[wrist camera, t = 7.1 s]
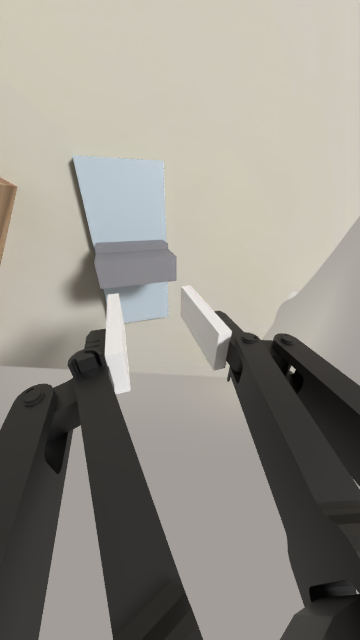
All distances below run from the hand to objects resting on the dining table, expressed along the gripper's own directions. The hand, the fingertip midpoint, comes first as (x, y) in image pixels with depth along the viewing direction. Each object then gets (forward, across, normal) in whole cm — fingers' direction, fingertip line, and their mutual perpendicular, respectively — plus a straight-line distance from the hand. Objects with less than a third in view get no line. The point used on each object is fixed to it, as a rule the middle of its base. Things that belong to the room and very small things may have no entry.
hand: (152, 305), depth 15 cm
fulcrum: (+16, 0, 0) cm, 16 cm away
